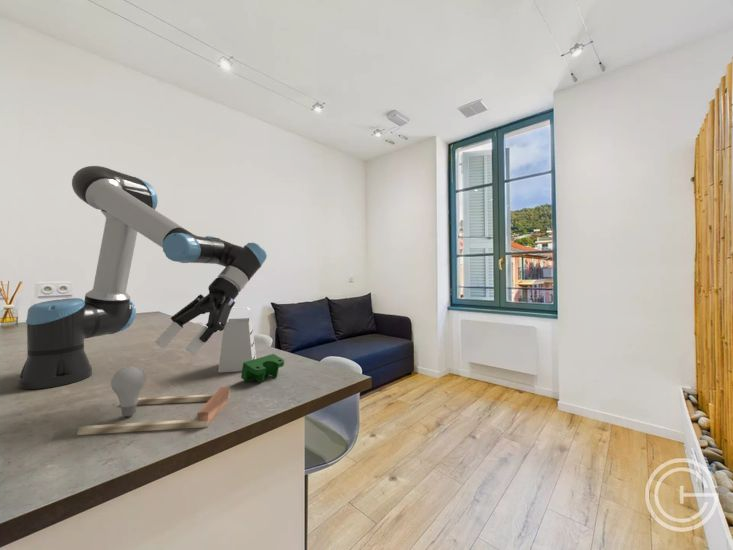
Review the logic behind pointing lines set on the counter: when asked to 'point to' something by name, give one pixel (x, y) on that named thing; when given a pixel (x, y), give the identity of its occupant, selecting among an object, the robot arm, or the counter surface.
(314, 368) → the counter surface
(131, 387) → the lightbulb
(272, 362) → the clamp
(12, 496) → the counter surface
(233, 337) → the grater
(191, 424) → the guide
